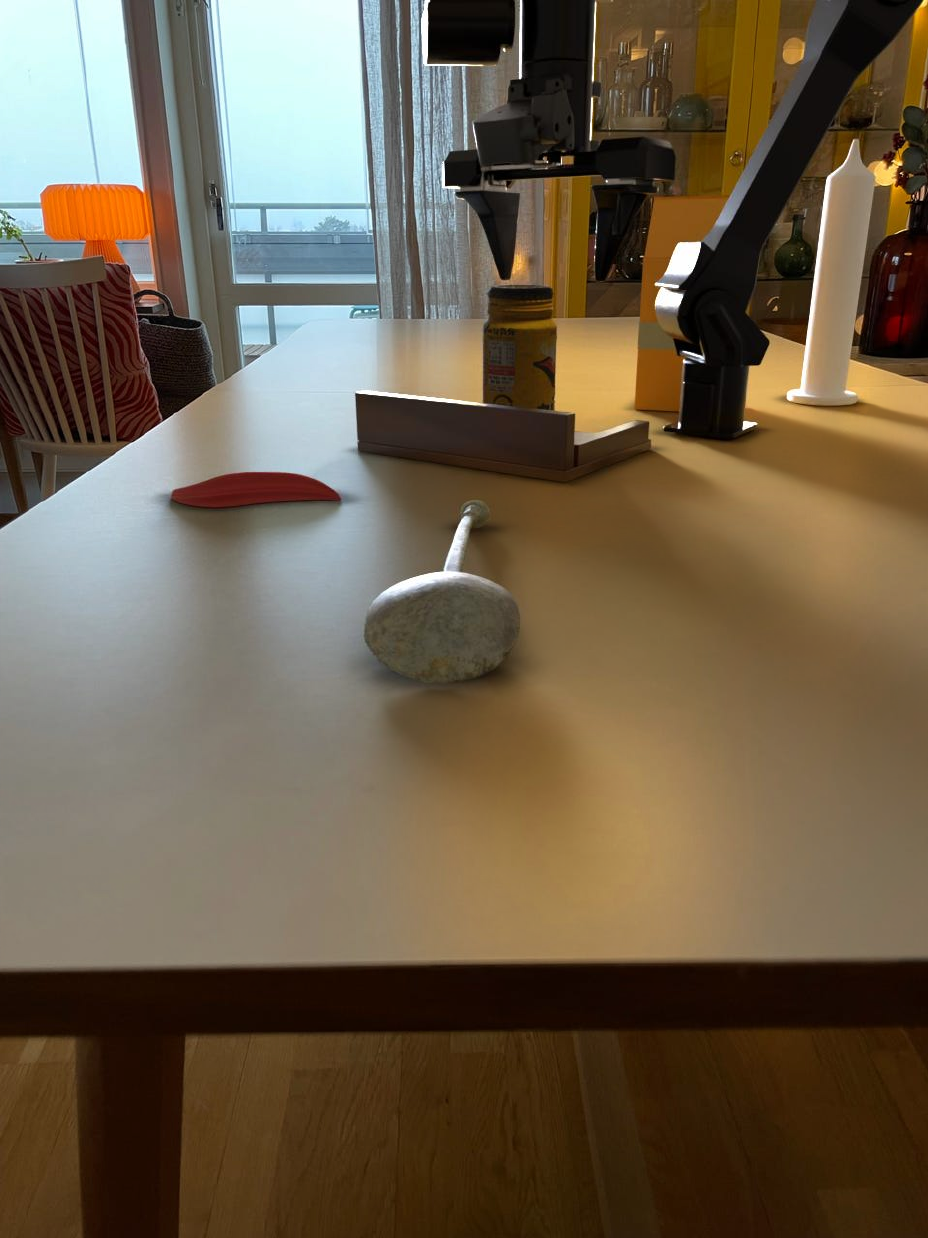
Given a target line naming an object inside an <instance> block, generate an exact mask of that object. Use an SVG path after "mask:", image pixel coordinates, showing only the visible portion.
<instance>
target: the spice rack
mask: <svg viewBox="0 0 928 1238" xmlns="http://www.w3.org/2000/svg"><path fill="white" fill-rule="evenodd" d="M354 399H355V400H354V401H355V418H356V437H357V451H358V452H363V453H364V452H365V453H371V454H376V455H383V456H390V457H396V458H403V459H410V460H417V461H424V462H429V463H436V464H442V465H449V466H455V467H461V468H462V467H463V468H468V469H475V470H482V471H488V472H495V473H501V474H507V475H515V476H521V477H527V478H535V479H540V480H541V479H542V480H546V481H553V482H558V483H559V482H560V483H567V482H569V481H572V480H574V479H577V478H580V477H582V476H585V475H588V474H591V473H593V472H595V471H598V470H601V469H603V468H607V467H608V466H611V465H614V464H617V463H618V462H621V461H625V460H627V459H629V458H632V457H635V456H638V455H639V454H641V453H644V452H647V451H649V450H651V449H652V439H650V438H649V434H650V421H649V420H642V419H641V420H640V419H635V420H633V421H630V422H627V423H623V424H620V425H617V426H613V427H610V428H607V429H604V430H601V431H599V432H589V431H580V430H576V413H575V412H571V411H561V410H555V411H553V410H543V409H534V408H524V407H515V406H505V405H496V404H486V403H483V402H475V401H465V400H458V399H448V398H439V397H438V398H437V397H429V396H428V397H427V396H419V395H409V394H399V393H389V392H380V391H373V390H372V391H371V390H361V391H360V390H359V391H356V392H354Z"/></svg>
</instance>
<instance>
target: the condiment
mask: <svg viewBox="0 0 928 1238" xmlns="http://www.w3.org/2000/svg"><path fill="white" fill-rule="evenodd" d="M486 295H487V299H488V301H487V307H486V313H487V317H486V320H485V321H484V323H483V324H482V403H486V404H496V405H505V406H515V407H524V408H534V409H543V410H553V411H556V408H555V406H556V400H555V397H556V373H557V372H556V371H557V370H556V368H557V342H558V341H557V340H558V325H557V323H556V321H555V320H554V318H553V313H554V307H553V300H554V290H553V288H552V286H549V285H542V284H505V285H504V284H503V285H491V286H490V287H489V289H488V291H487V292H486Z"/></svg>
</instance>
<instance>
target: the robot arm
mask: <svg viewBox="0 0 928 1238" xmlns="http://www.w3.org/2000/svg"><path fill="white" fill-rule="evenodd" d="M815 1H816V2H815V5H814V6H813V10H812V13H811V16H810V18H809V22H808V25H807V28H806V29H807V30H806V35H805V41H804V51H803V55H802V59H801V62H800V65H799V67H798V68H797V71H796V72H795V74H794V76H793V78H792V80H791V82H790V83H789V85H788V87H787V90H786V91H785V93H784V94H783V97H782V99H781V100H780V102H779V104H778V106H777V107H776V109H775V111H774V112H773V116H772V117H771V119H770V121H769V123H768V124H767V127H766V128H765V130H764V132H763V134H762V136H761V138H760V139H759V142H758V143H757V145H756V147H755V149H754V150H753V153H752V154H751V156H750V158H749V160H748V162H747V163H746V166H745V168H744V169H743V171H742V173H741V175H740V177H739V179H738V181H737V182H736V184H735V186H734V188H733V189H732V192H731V194H729V195H730V197H729V199H728V201H727V203H726V205H725V207H724V208H723V210H722V212H721V214H720V216H719V218H718V220H717V221H716V223H715V225H714V227H713V228H712V230H711V231H710V232H709V233H708V234H707V235H706V236H705V237H704V238H703V239H702V240H701V242H679V244H678V245H677V247H676V249H675V251H674V254H673V257H672V260H671V263H670V265H669V268H668V270H667V271H666V273H665V274H664V276H663V277H662V278H661V279H660V280H659V281H658V282H656V284H655V286H656V287H660V288H662V289H661V290H660V292H659V294H658V297H657V300H656V304H655V311H656V315H657V319H658V323H659V325H660V326H661V328H662V329H663V331H664V332H665V333H666V334H668V335H669V336H670V337H671V338H672V342H673V346H674V349H675V353H676V355H677V356H683V357H686V359H684V360H683V369H682V382H681V395H680V408H679V411H678V420H677V421H674V422H672V423H668V424H666V425H663V428H662V430H663V432H665V433H673V434H681V435H682V434H683V435H692V436H700V437H709V438H717V439H727V440H729V439H731V440H732V439H735V438H737V437H739V436H743V435H744V434H747V433H749V432H751V431H754V430H756V429H757V428H758V423H757V422H752V421H745V414H746V407H747V396H748V386H749V378H750V377H749V376H750V367H758V366H760V365H761V364H762V362H763V361H764V360H763V359H764V358H765V355H766V354H767V351H768V349H769V346H770V343H771V342H770V339H769V338H768V337H767V336H766V334H765V333H764V332H763V331H762V330H761V328H759V326H758V325H757V324H756V323H755V321H754V320H753V319H752V318H751V317H750V316H749V314H748V313H747V311H748V308H749V305H750V303H751V300H752V297H753V295H754V292H755V290H756V286H757V280H758V274H759V273H758V272H759V267H760V260H761V255H762V252H763V249H764V247H765V244H766V242H767V241H768V240H769V237H770V235H771V233H772V232H773V230H774V228H775V227H776V225H777V223H778V221H779V219H780V217H781V215H782V214H783V212H784V211H785V208H786V206H787V205H788V203H789V202H790V199H791V197H792V196H793V194H794V192H795V190H796V189H797V187H798V185H799V183H800V181H801V179H802V178H803V176H804V174H805V173H806V171H807V169H808V167H809V165H810V164H811V162H812V160H813V158H814V156H815V154H816V153H817V152H818V149H819V148H820V145H821V144H822V142H823V140H824V138H825V137H826V135H827V133H828V131H829V129H830V127H831V126H832V124H833V122H834V121H835V118H836V117H837V115H838V113H839V112H840V109H841V108H842V106H843V104H844V103H845V100H846V99H847V97H848V95H849V93H850V92H851V90H852V88H853V86H854V84H855V83H856V81H857V79H858V78H859V77H860V76H861V75H862V73H863V72H865V70H866V69H867V68H868V67H869V66H870V65H871V64H872V63H873V62H874V61H875V60H876V59H877V58H879V56H880V55H881V54H882V53H883V52H884V51H885V50H886V49H887V48H888V47H889V46H890V45H891V44H892V43H893V41H894V40H895V39H896V38H897V37H898V35H900V33H901V32H902V30H903V29H904V27H905V26H906V25H907V24H908V22H909V21H910V20H911V19H912V17H914V14H915V13H916V12H917V11H918V9H919V8H920V6H922V4H923V2H924V1H925V0H815ZM516 2H520V3H519V5H520V7H519V10H520V11H519V76H518V77H519V78H515V79H509V85H508V88H507V101H506V103H505V104H503V105H499V106H497V107H495V108H493V109H491V110H489V111H487V112H486V113H484V114H482V115H480V116H478V117H476V118H475V119H473V120H472V121H471V123H472V128H473V134H474V139H475V143H476V145H475V146H476V148H475V149H474V148H473V149H463V150H462V149H461V150H451V151H449V152H448V154H447V155H446V157H445V159H444V161H443V162H442V163H443V164H442V169H441V170H442V171H441V172H442V188H443V189H444V188H445V189H458V190H459V191H455V192H454V194H455V196H456V198H457V200H458V199H459V200H465V201H466V203H468V205H469V206H470V207H471V208H472V210H473V211H474V212H475V214H476V215H477V217H478V219H479V222H480V224H481V226H482V228H483V231H484V234H485V236H486V239H487V243H488V246H489V249H490V252H491V256H492V258H493V261H494V265H495V267H496V270H497V274H498V277H499V280H501V281H510V280H511V279H512V274H513V269H514V268H513V267H514V263H515V256H516V255H515V253H516V243H517V232H518V231H517V230H518V221H519V213H520V212H519V211H520V198H521V193H520V192H507V190H509V189H510V190H511V188H512V187H513V186H514V185H515V183H516V182H517V181H531V180H547V179H548V180H549V179H550V180H551V179H567V178H586V177H587V178H588V177H602V179H603V180H605V184H594V185H591V191H592V194H593V198H594V200H595V201H594V202H595V205H596V208H597V215H596V228H595V229H596V230H595V243H594V260H593V268H594V269H593V270H594V271H593V272H594V281H595V282H596V283H603V282H606V280H607V277H608V275H609V273H610V272H611V269H612V267H613V264H614V263H615V260H616V258H617V255H618V254H619V251H620V249H621V246H623V245H622V244H623V242H624V240H625V239H626V236H627V234H628V232H629V230H630V227H631V226H632V224H633V222H634V220H635V219H636V217H637V215H638V214H639V212H640V210H641V209H642V207H643V205H644V204H645V202H646V200H647V198H648V197H649V196H650V195H657V194H659V193H658V192H659V186H655V183H659V182H674V181H675V180H676V179H675V177H676V164H677V156H676V152H675V149H674V147H673V146H672V144H671V143H670V141H669V140H666V139H665V140H664V139H661V138H660V139H659V138H653V137H649V136H630V137H629V136H628V137H618V138H604V139H602V140H601V141H599V140H594V139H592V119H593V99H595V98H596V99H599V98H601V96H602V94H601V93H602V82H600V81H596V80H594V66H595V65H594V63H595V42H596V41H595V40H596V12H597V3H607V4H608V3H611V2H613V0H424V10H423V13H422V17H421V35H422V36H421V37H422V38H421V41H422V54H423V55H422V56H423V64H424V65H425V66H451V67H453V66H458V67H459V66H461V67H462V66H464V67H465V66H468V67H475V66H476V67H477V66H478V67H486V66H487V67H497V66H498V64H499V61H500V56H501V51H502V50H503V51H504V52H511V51H512V50H513V47H514V41H515V32H516ZM563 158H573V163H570V164H569V163H566V164H564V163H563V164H562V162H563ZM545 159H546V162H544V161H545Z"/></svg>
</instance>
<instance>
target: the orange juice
mask: <svg viewBox="0 0 928 1238" xmlns="http://www.w3.org/2000/svg"><path fill="white" fill-rule="evenodd" d="M730 195H731V194H727V195H726V194H724V195H722V194H721V195H684V196H654V199H653V205H652V211H651V217H650V223H649V229H648V232H647V233H648V234H647V239H646V246H645V252H644V256H643V258H642V272H641V273H642V274H641V275H642V276H641V292H640V307H639V321H638V333H637V358H636V374H635V393H634V407H633V408H634V410H643V411H644V410H645V411H659V412H660V411H661V412H662V411H663V412H679V408H680V395H681V382H682V369H683V360H684V359H686V357H683V356H677V355H676V353H675V349H674V346H673V342H672V338H671V337H670V336H669V335H668V334H666V333H665V332H664V331H663V329H662V328H661V326H660V325H659V323H658V319H657V315H656V311H655V304H656V300H657V297H658V294H659V292H660V290H661V289H662V288H660V287H656V286H655V284H656V282H658V281H659V280H660V279H661V278H662V277H663V276H664V274H665V273H666V271H667V270H668V268H669V265H670V263H671V260H672V257H673V254H674V251H675V249H676V247H677V245H678V244H679V242H701V240H702V239H703V238H704V237H705V236H706V235H707V234H708V233H709V232H710V231H711V230H712V228H713V227H714V225H715V223H716V221H717V220H718V218H719V216H720V214H721V212H722V210H723V208H724V207H725V205H726V203H727V201H728V199H729V197H730Z"/></svg>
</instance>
